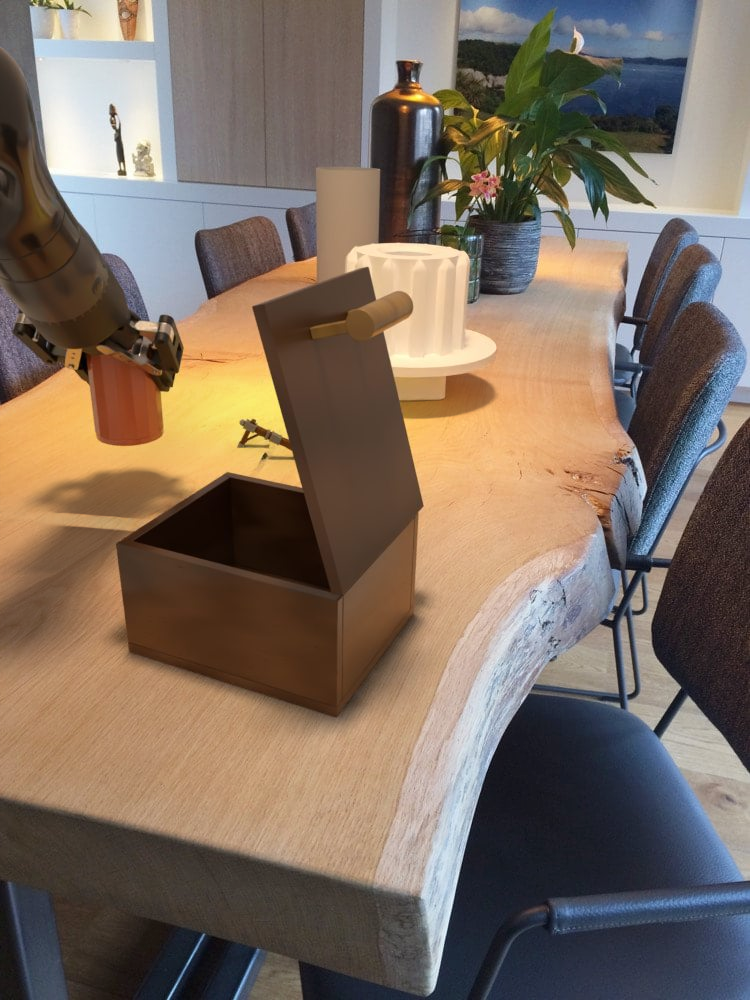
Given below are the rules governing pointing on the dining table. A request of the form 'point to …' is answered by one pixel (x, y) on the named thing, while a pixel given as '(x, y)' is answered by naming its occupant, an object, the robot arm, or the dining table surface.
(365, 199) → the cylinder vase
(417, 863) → the dining table surface
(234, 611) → the chest
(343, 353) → the lid
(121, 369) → the cup
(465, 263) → the flanged gear
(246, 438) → the toy mortar
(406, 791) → the dining table surface
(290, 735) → the dining table surface
